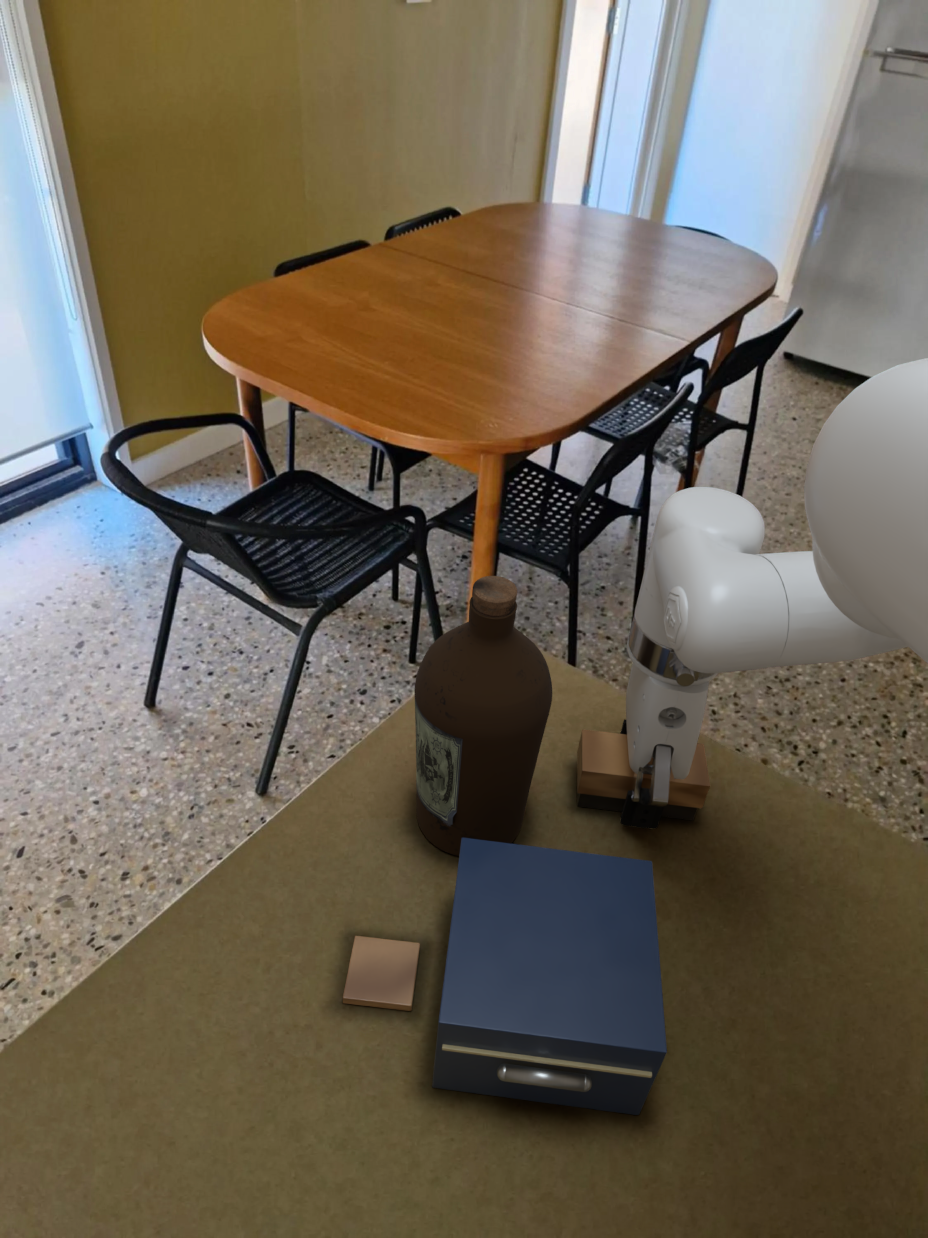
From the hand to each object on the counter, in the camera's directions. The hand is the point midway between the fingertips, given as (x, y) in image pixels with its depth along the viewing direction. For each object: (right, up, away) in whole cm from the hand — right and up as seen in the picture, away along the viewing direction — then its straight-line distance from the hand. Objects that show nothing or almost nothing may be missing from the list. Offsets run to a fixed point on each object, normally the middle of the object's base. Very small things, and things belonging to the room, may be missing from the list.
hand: (635, 786), depth 80 cm
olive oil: (-15, -2, -2) cm, 16 cm away
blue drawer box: (-10, -13, -15) cm, 23 cm away
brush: (0, -1, +1) cm, 1 cm away
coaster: (-22, -11, -15) cm, 28 cm away
